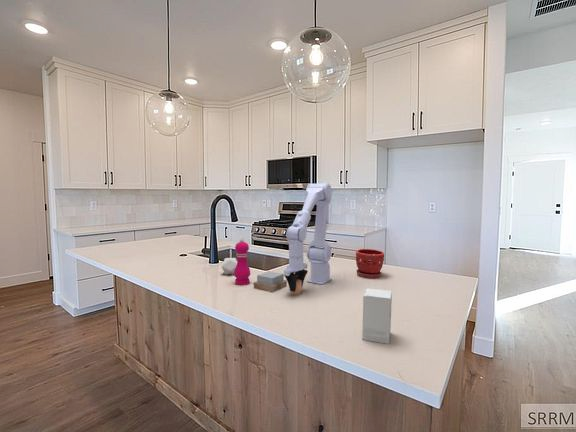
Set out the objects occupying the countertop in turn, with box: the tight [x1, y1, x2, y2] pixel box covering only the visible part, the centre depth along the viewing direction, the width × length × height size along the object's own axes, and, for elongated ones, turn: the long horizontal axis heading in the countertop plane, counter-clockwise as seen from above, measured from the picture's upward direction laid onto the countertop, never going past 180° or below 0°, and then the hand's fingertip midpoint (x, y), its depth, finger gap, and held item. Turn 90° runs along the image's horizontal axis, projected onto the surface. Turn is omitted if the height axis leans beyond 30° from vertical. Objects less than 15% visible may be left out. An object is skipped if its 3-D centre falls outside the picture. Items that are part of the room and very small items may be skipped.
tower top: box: [256, 271, 285, 286], centre depth 133 cm, size 8×8×3 cm
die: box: [221, 257, 238, 276], centre depth 154 cm, size 8×9×10 cm
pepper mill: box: [234, 238, 251, 286], centre depth 139 cm, size 7×7×20 cm
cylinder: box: [290, 279, 303, 296], centre depth 126 cm, size 4×4×5 cm
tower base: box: [253, 279, 288, 293], centre depth 133 cm, size 10×10×3 cm
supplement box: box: [361, 288, 393, 344], centre depth 88 cm, size 7×7×13 cm
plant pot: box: [355, 248, 385, 279], centre depth 151 cm, size 13×13×12 cm
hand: (296, 289), depth 126 cm, fingers open, 5 cm apart
